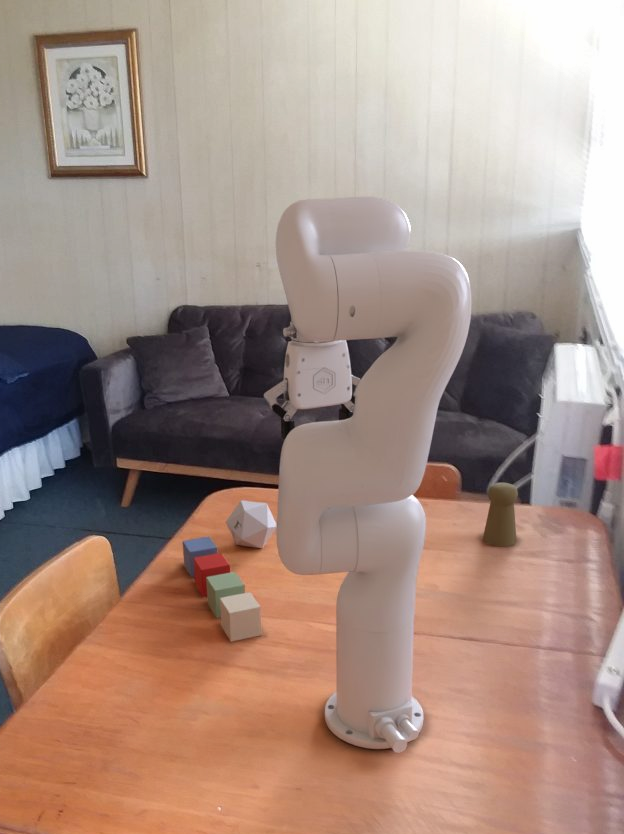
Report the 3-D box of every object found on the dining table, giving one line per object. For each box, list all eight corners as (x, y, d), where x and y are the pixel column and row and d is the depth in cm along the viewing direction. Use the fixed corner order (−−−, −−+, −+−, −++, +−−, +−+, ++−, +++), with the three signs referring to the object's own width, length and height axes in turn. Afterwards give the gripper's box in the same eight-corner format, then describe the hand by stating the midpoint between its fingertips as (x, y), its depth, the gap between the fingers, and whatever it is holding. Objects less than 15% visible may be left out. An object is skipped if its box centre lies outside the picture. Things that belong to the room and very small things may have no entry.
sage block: (246, 612, 135) (244, 584, 134) (216, 618, 134) (214, 590, 132) (236, 598, 140) (235, 571, 138) (207, 604, 138) (205, 576, 137)
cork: (482, 545, 155) (485, 489, 151) (483, 531, 160) (486, 478, 156) (516, 548, 153) (521, 492, 149) (516, 534, 158) (520, 480, 155)
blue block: (218, 572, 149) (217, 547, 147) (191, 577, 147) (189, 552, 146) (210, 560, 153) (209, 536, 152) (184, 565, 152) (182, 540, 150)
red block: (231, 591, 142) (229, 564, 141) (202, 596, 141) (201, 570, 139) (222, 578, 147) (221, 552, 145) (194, 583, 145) (193, 557, 144)
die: (227, 538, 164) (212, 512, 156) (262, 509, 166) (249, 482, 158) (253, 565, 159) (239, 540, 151) (289, 535, 161) (277, 509, 153)
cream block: (261, 635, 129) (260, 606, 127) (230, 642, 127) (229, 613, 126) (251, 619, 133) (249, 591, 131) (221, 626, 132) (219, 597, 130)
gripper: (271, 342, 123) (274, 453, 128) (378, 330, 127) (376, 437, 133) (254, 333, 129) (258, 439, 135) (356, 322, 134) (356, 425, 140)
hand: (317, 438), depth 134 cm, fingers open, 9 cm apart
